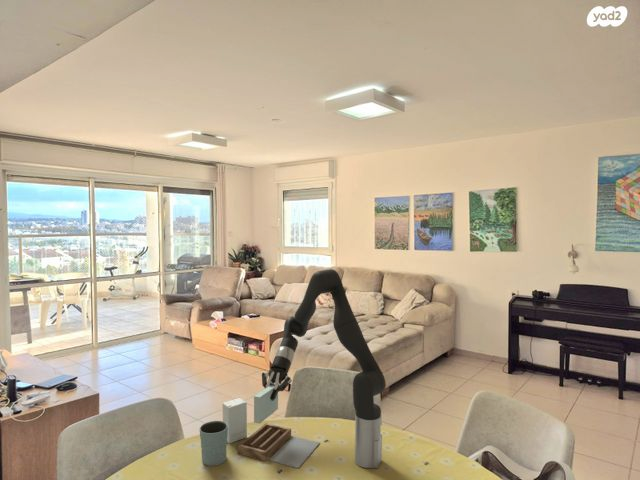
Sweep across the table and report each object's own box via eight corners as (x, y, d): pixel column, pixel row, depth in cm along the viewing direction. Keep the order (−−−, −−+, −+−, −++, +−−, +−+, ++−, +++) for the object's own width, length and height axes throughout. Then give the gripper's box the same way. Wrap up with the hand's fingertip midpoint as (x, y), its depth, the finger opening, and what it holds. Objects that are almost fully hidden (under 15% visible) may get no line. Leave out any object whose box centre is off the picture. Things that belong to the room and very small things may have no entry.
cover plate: (278, 409, 167) (278, 384, 167) (259, 423, 154) (259, 397, 154) (272, 408, 168) (272, 383, 168) (254, 422, 155) (254, 396, 155)
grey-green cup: (220, 468, 145) (220, 434, 144) (193, 465, 147) (194, 431, 147) (232, 453, 155) (232, 421, 154) (207, 450, 157) (207, 419, 156)
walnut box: (291, 436, 168) (291, 428, 168) (265, 460, 150) (265, 452, 150) (265, 430, 173) (265, 423, 173) (238, 453, 155) (238, 445, 155)
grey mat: (319, 443, 163) (319, 442, 163) (298, 468, 145) (298, 467, 145) (292, 437, 167) (292, 436, 167) (268, 460, 150) (268, 459, 150)
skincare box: (240, 432, 171) (240, 396, 171) (247, 437, 166) (247, 401, 166) (221, 438, 166) (221, 401, 166) (228, 444, 161) (228, 406, 161)
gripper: (265, 353, 174) (249, 392, 163) (295, 357, 168) (280, 397, 157) (272, 362, 179) (256, 400, 168) (300, 366, 173) (287, 406, 162)
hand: (268, 399), depth 163 cm, fingers closed on cover plate, 2 cm apart
